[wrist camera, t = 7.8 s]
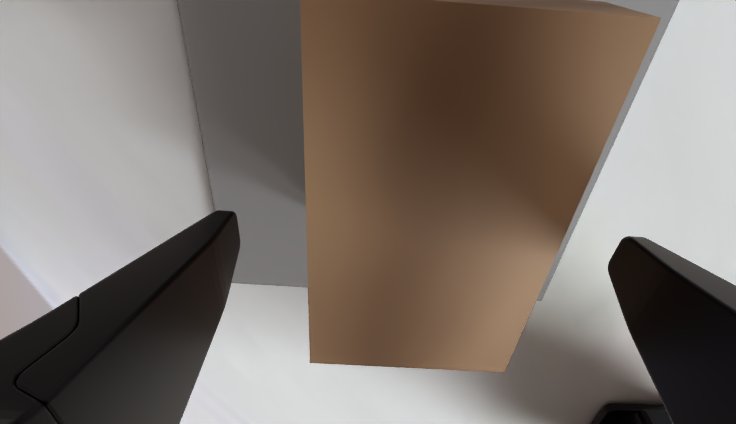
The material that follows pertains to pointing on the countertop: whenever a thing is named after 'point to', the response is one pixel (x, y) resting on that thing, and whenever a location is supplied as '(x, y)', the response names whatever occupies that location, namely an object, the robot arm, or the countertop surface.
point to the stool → (449, 166)
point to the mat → (288, 125)
